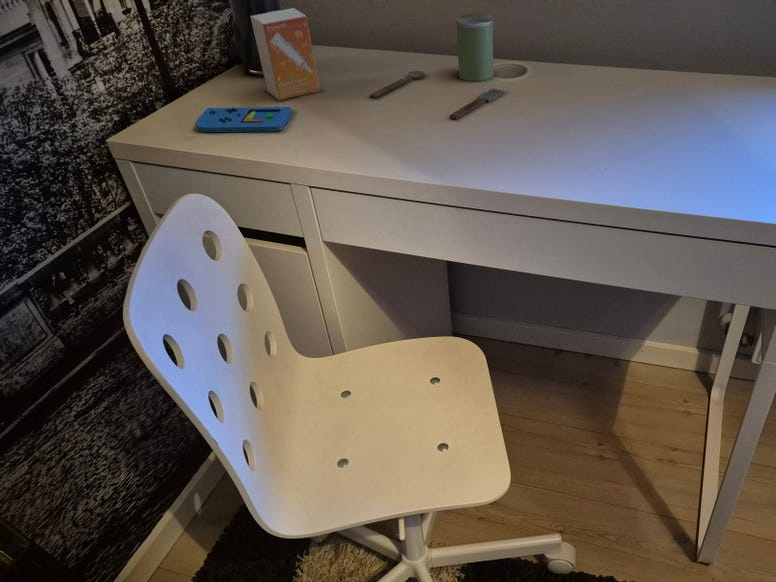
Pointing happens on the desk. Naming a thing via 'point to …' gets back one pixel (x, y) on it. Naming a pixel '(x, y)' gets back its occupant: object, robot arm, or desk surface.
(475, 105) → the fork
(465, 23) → the can
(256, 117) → the handheld gaming device
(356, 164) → the desk surface
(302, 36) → the small box
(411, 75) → the spoon
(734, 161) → the desk surface
